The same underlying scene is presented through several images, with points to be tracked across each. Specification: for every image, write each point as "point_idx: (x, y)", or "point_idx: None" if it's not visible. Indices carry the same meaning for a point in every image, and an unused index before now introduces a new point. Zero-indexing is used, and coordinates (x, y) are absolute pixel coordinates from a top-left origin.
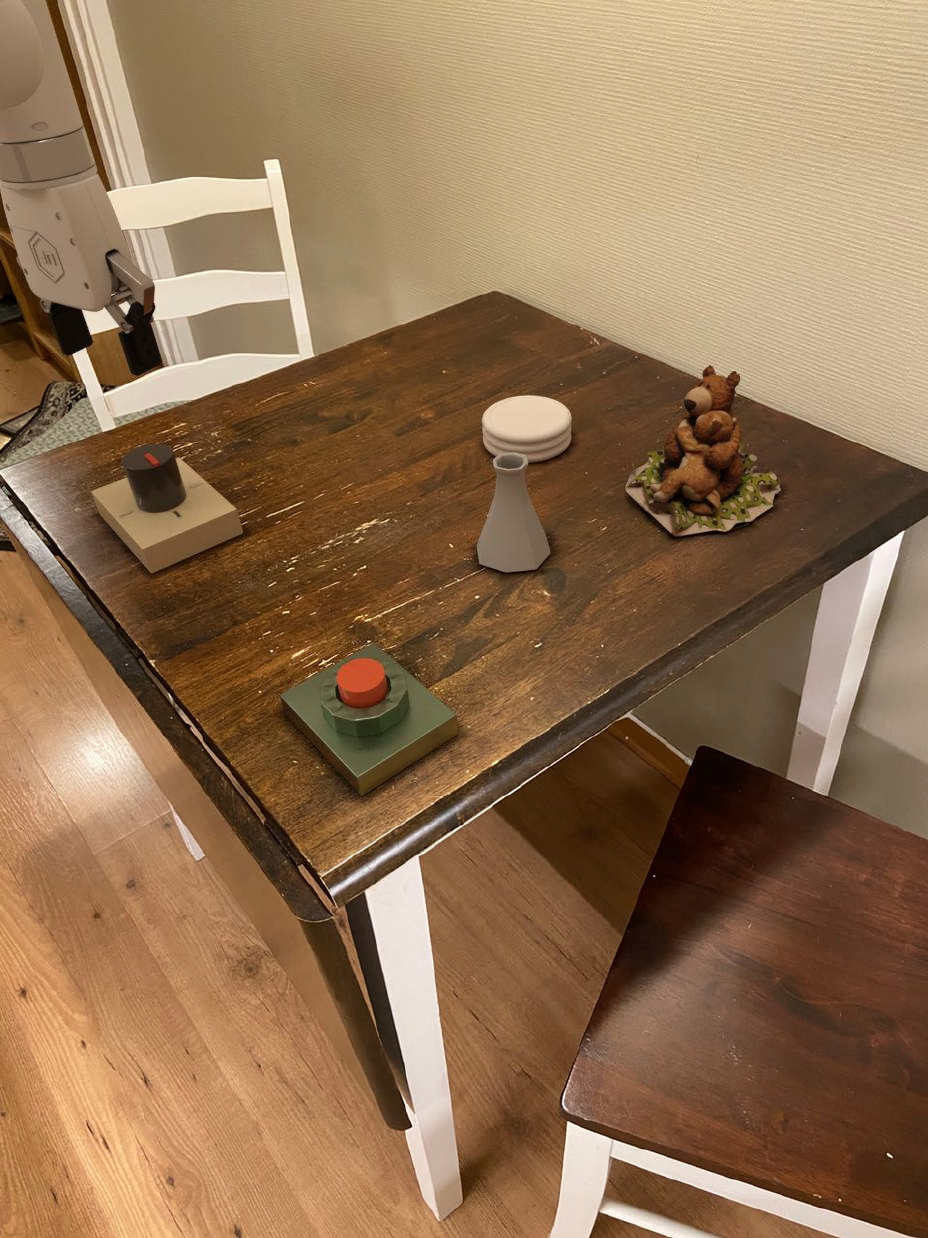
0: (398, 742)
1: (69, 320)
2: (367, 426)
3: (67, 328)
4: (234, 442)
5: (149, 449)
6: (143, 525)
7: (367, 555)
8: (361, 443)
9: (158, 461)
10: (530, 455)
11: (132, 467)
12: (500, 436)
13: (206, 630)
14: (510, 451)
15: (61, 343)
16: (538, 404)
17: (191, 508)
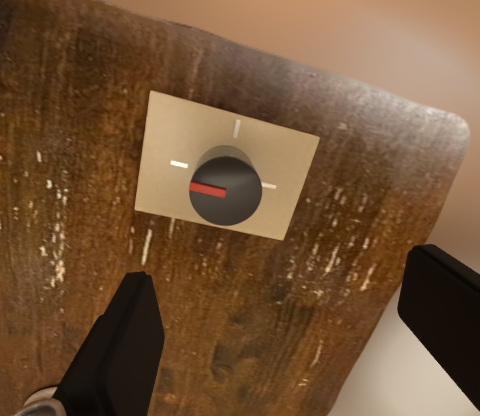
0: None
1: (473, 345)
2: (199, 365)
3: (459, 315)
4: (289, 293)
5: (240, 206)
6: (195, 125)
7: (14, 239)
8: (181, 347)
9: (198, 192)
10: (29, 400)
11: (217, 161)
12: None
13: (13, 57)
14: (41, 397)
15: (443, 262)
16: None
17: (178, 182)
